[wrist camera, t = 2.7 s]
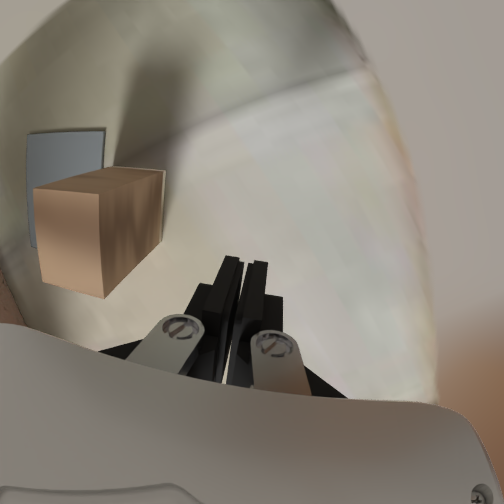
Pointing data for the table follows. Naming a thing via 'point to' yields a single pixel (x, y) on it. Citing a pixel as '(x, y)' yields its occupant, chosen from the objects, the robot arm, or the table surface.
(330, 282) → the table surface
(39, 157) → the mat
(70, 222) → the block
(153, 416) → the robot arm
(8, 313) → the brick
